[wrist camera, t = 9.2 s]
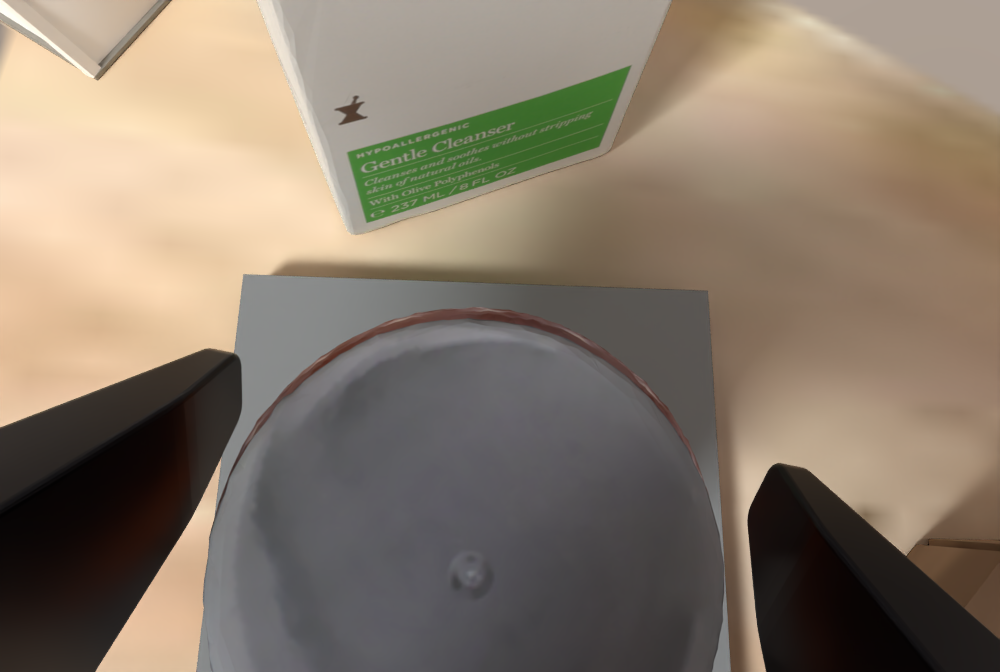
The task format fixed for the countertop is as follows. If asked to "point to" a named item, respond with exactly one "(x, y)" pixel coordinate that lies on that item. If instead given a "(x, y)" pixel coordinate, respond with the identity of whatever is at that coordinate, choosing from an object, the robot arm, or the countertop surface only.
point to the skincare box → (455, 92)
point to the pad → (585, 310)
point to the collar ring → (965, 574)
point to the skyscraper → (82, 27)
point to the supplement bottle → (465, 512)
